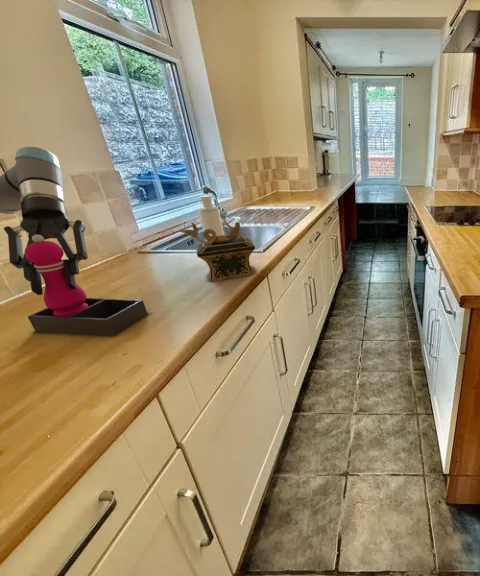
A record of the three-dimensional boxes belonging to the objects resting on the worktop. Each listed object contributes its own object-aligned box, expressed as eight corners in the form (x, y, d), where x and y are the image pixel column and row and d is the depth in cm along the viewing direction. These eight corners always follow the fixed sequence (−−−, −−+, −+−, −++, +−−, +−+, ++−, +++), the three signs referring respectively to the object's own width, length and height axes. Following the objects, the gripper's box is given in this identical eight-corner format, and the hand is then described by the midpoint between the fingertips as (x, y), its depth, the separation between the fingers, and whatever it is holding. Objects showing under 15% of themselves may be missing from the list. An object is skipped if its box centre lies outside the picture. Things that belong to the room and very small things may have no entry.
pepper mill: (53, 314, 77) (12, 234, 69) (91, 305, 82) (58, 229, 74) (53, 325, 73) (10, 241, 65) (94, 314, 77) (59, 234, 69)
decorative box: (255, 266, 115) (245, 211, 107) (260, 275, 107) (249, 216, 99) (192, 276, 106) (176, 217, 98) (192, 286, 98) (175, 223, 90)
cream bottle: (221, 261, 120) (205, 193, 110) (206, 259, 122) (189, 192, 112) (232, 255, 126) (218, 190, 116) (218, 254, 128) (203, 190, 117)
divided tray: (36, 333, 74) (27, 316, 72) (78, 312, 83) (71, 296, 82) (114, 337, 72) (106, 320, 71) (148, 315, 82) (142, 299, 80)
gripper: (97, 209, 85) (111, 287, 79) (0, 217, 76) (8, 305, 70) (85, 191, 78) (99, 274, 72) (-22, 197, 70) (-16, 292, 64)
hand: (54, 289), depth 71 cm, fingers closed on pepper mill, 5 cm apart
